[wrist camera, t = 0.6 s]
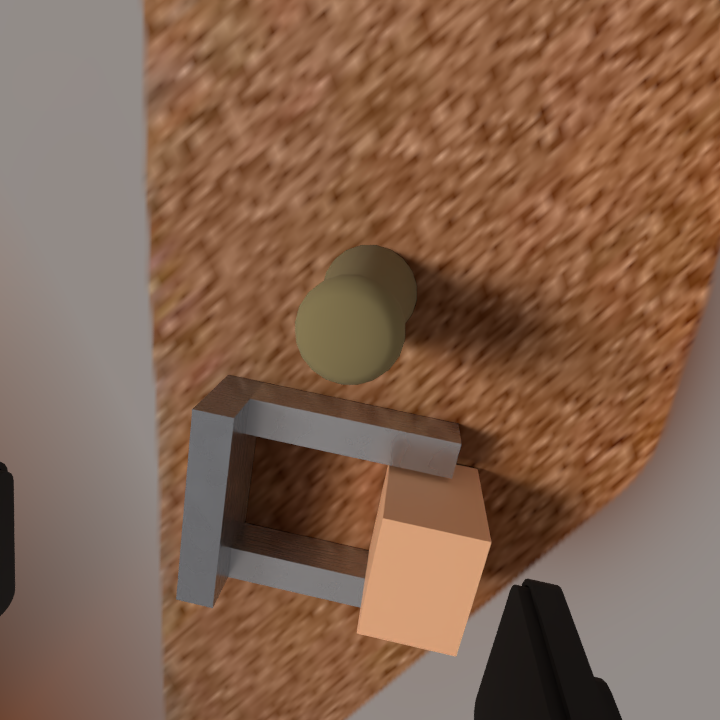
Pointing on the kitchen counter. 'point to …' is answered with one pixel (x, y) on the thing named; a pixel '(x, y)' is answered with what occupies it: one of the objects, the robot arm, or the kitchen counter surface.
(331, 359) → the cork
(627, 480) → the kitchen counter surface
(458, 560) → the block
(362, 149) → the kitchen counter surface
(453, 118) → the kitchen counter surface
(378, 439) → the u-shaped metal bracket
